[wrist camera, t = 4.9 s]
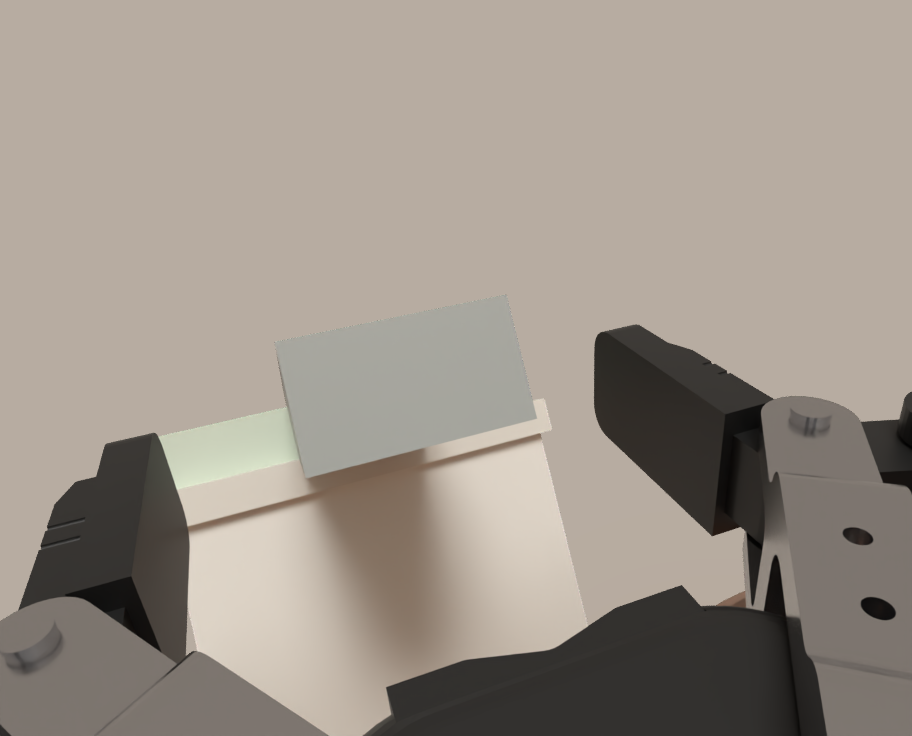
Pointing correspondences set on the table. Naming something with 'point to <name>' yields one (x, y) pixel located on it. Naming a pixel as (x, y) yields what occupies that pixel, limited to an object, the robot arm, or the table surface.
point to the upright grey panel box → (380, 571)
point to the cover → (372, 395)
